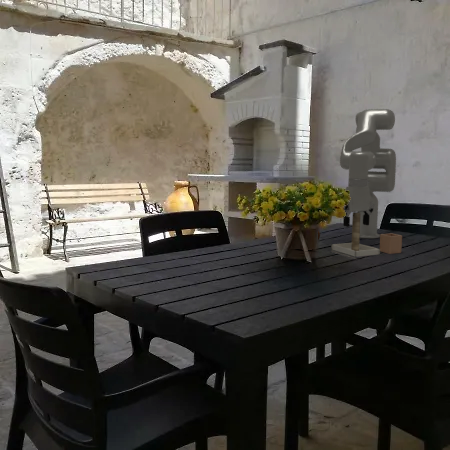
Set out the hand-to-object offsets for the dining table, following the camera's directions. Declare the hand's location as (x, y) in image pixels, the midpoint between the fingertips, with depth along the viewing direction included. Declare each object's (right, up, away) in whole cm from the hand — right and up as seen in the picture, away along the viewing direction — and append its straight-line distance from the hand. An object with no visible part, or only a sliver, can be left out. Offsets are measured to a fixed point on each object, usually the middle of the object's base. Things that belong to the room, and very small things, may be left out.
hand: (356, 225), depth 210 cm
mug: (-18, -11, +10) cm, 23 cm away
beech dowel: (0, -11, +2) cm, 11 cm away
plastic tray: (0, -12, +2) cm, 12 cm away
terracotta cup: (+14, -12, +2) cm, 19 cm away
